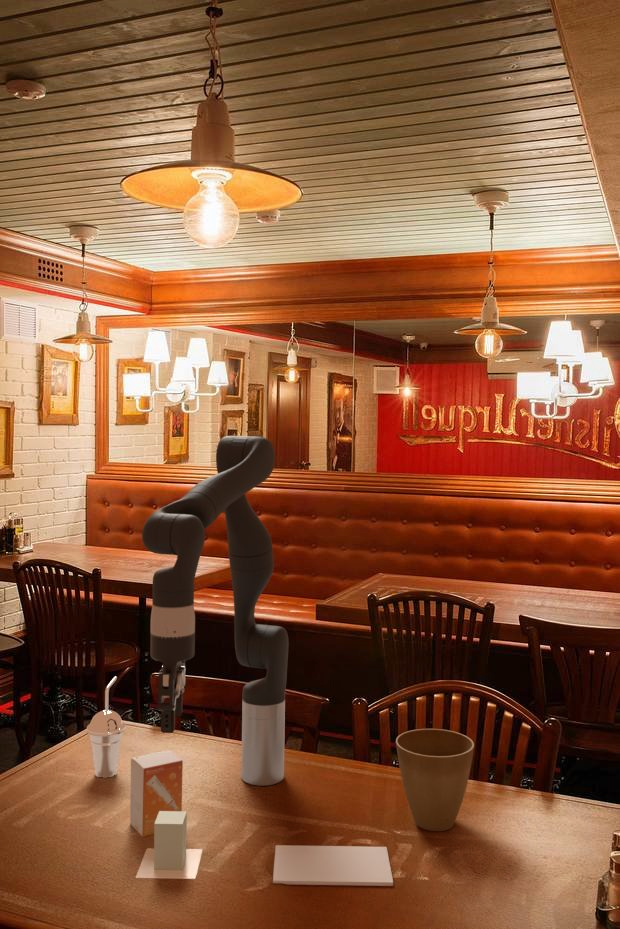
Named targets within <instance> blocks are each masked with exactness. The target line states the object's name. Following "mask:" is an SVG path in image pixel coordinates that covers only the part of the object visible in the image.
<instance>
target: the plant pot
mask: <svg viewBox="0 0 620 929" xmlns="http://www.w3.org/2000/svg"><path fill="white" fill-rule="evenodd" d="M395 745H396V752H397V753H396V754H397V759H398V764H399V765H398V766H399V771H400V776H401V780H402V784H403V788H404V793H405V795H406V799H407V803H408V806H409V809H410V812H411V814H412V817H413V820H414V823H415V825H416V826H417V827H418V828H420V829H423V830H426V831H429V832H445V831H448V830H450V829H451V828H453V826H454V824H455V822H456V820H457V818H458V817H457V816H458V814H459V812H460V809H461V807H462V803H463V799H464V797H465V794H466V790H467V787H468V781H469V778H470V773H471V768H472V763H473V758H474V756H473V755H474V748H475V743H474V741H473V739H471V738H470V737H468V736H467V735H464V734H462V733H460V732H457V731H453V730H448V729H443V728H442V729H440V728H419V729H413V730H412V729H411V730H408V731H405V732H402V733H401V734H399V735H398V736H397V737H396V739H395Z"/></svg>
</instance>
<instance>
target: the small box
mask: <svg viewBox="0 0 620 929" xmlns="http://www.w3.org/2000/svg"><path fill="white" fill-rule="evenodd" d="M183 762H184V761H183V759H181V757H179V756H178V755H177V754H175V752H173V751H172V750H170V749H167V750H163V751H158V752H151V753H146V754H143V755H139V756H134V757H131V758H130V796H129V797H130V798H129V800H130V803H129V812H130V813H129V814H130V816H129V824H130V826H132V827H133V828H134V830H136V832H137V833H138V834H139V835H140V836H141V837H142V838H143V837H146V836H151V835H154V823H155V821H156V818H157V816H158V813H159V811H183V810H182V809H183V808H182V807H183Z"/></svg>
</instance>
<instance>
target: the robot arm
mask: <svg viewBox="0 0 620 929" xmlns="http://www.w3.org/2000/svg"><path fill="white" fill-rule="evenodd" d="M216 446H217V447H216V452H215V464H216V465H215V466H216V471H217V473H216V474H213V475H212V476H209V477H207V478H204V479H203V480H202V481H200V482H198V483H197V484H195V485H194V486H193V487H192V488H190V490H189V491H188V492H186V494H184V496H183V497H181V498H180V499H178V500H175V501H172V502H171V503H169V504H167V505H165V506H163V507H161V508H159V509H157V510H156V511H154V512H153V513H152V514H151V515H150V516H149V517H147V519H146V521H145V523H144V525H143V528H142V532H141V533H142V534H141V539H142V540H141V541H142V543H143V546H144V547H145V548H146V549H147V550H148V551H149V552H150V553H153V554H155V555H157V554H158V555H169V556H177V557H176V560H175V563H174V566H172V567H165V568H161V569H158V570H156V571H155V572H154V574H153V577H152V598H151V599H152V604H151V613H150V653H149V654H150V657H151V659H153V660H154V661H156V662H161V663H162V666H161V669H160V670H159V672H158V675H157V681H158V684H157V710H158V711H160V732H161V733H164V734H172V733H174V732H175V730H176V729H175V727H176V726H175V725H176V723H175V722H176V718H175V717H180V716H182V714H183V694H184V692H185V688H184V687H185V686H186V684H187V683H186V670H187V669H186V661H188V660H189V661H190V660H192V659H193V658H194V657H195V654H196V653H195V651H196V648H195V647H196V613H195V604H194V603H195V601H194V600H195V578H196V573H197V570H198V566H199V562H200V558H201V555H202V551H203V550H204V544H205V540H206V529H208V528H209V527H210V526H211V525H212V524H213V523H214V522H215V520H216V519H217V518H218V517H219V516H220V515H221V514H222V513H223V512H224V516H225V523H226V533H227V549H228V550H227V551H228V559H229V567H230V568H229V569H230V575H231V576H230V577H231V585H232V591H233V592H232V593H233V607H234V608H233V609H234V610H233V612H234V616H233V617H234V619H233V620H234V649H235V655H236V656H235V657H236V660H237V661H238V663H239V664H240V665H241V666H243V667H247V668H257V669H265V670H266V676H265V677H263V678H260V679H256V680H252V681H249V682H247V683H246V684H244V686H243V687H242V696H241V697H242V700H241V701H242V704H241V705H242V708H241V710H242V712H241V713H242V714H241V717H242V720H241V721H242V722H241V770H240V771H241V780H242V781H243V782H245V783H247V784H249V785H253V786H272V785H275V784H278V783H280V782H282V781H283V780H284V776H285V732H286V731H285V728H286V726H285V724H286V721H285V720H286V717H285V716H286V713H285V712H286V688H287V680H288V678H287V677H288V676H287V675H288V662H289V661H288V659H289V643H290V642H289V636H288V631H287V630H286V628H284V627H282V626H279V625H270V624H269V625H268V624H262V623H261V624H260V623H256V620H255V611H256V609H255V608H256V604H257V603H258V601H259V599H260V596H261V595H262V593H263V591H264V590H265V588H266V586H267V585H268V584H269V583H270V582H269V581H270V580H271V577H272V575H273V572H274V568H275V564H274V563H275V561H274V560H275V559H274V550H273V549H274V548H273V541H272V537H271V534H270V532H269V531H268V529H267V528H266V526H265V524H264V523H263V522H262V520H261V519H260V517H259V516H258V515H257V513H256V512H255V510H254V509H253V508H252V506H251V504H250V502H249V500H248V497H247V495H246V494H247V493H249V492H250V491H252V489H254V488H256V487H257V486H259V485H261V484H262V483H264V482H266V480H268V479H269V477H270V476H271V474H273V471H274V468H275V466H276V465H275V464H276V453H275V452H276V451H275V448H274V445H273V443H272V442H271V441H270V440H269V439H268V438H266V437H261V436H256V435H255V436H252V435H226V436H225V435H224V436H223V437H222V438H221V439H220V440H219V441H218V443H217V445H216ZM166 698H168V701H169V702H165V699H166Z"/></svg>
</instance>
